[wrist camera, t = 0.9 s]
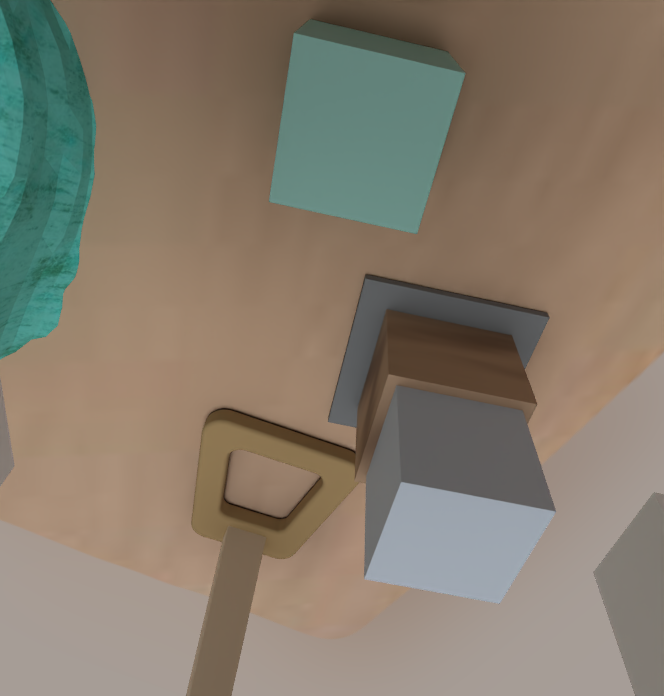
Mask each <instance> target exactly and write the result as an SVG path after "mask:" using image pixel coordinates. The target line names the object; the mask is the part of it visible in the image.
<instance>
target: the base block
mask: <svg viewBox="0 0 664 696" xmlns="http://www.w3.org/2000/svg"><path fill="white" fill-rule="evenodd" d="M396 385H398V386H403V387H408V388H413V389H418V390H423V391H428V392H433V393H438V394H443V395H448V396H453V397H458V398H463V399H468V400H473V401H478V402H483V403H488V404H493V405H498V406H502V407H507V408H512V409H517V410H522V411H523V413H524V416H525V419H526V422H527V424H528V422H529V420H530V418H531V416H532V414H533V412H534V410H535V408H536V406H537V402H536V399H535V397H534V394H533V391H532V389H531V386H530V383H529V380H528V378H527V375H526V372H525V370H524V367H523V364H522V361H521V359H520V356H519V353H518V350H517V348H516V345H515V342H514V340H513V337H512V335H508V334H503V333H498V332H494V331H489V330H484V329H479V328H475V327H470V326H465V325H460V324H455V323H451V322H446V321H441V320H436V319H432V318H427V317H422V316H417V315H412V314H408V313H403V312H398V311H393V310H389V309H386V312H385V316H384V319H383V323H382V326H381V329H380V333H379V336H378V340H377V343H376V347H375V350H374V353H373V357H372V360H371V364H370V367H369V370H368V374H367V377H366V381H365V384H364V387H363V391H362V394H361V398H360V401H359V405H358V408H357V431H356V456H355V480H354V482H360V483H365V484H366V476H367V472H368V469H369V466H370V463H371V460H372V457H373V454H374V451H375V448H376V445H377V442H378V439H379V436H380V433H381V430H382V427H383V424H384V421H385V418H386V415H387V412H388V409H389V406H390V403H391V400H392V397H393V394H394V391H395V388H396Z"/></svg>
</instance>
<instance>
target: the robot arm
mask: <svg viewBox="0 0 664 696" xmlns="http://www.w3.org/2000/svg"><path fill="white" fill-rule="evenodd" d="M13 467H14V460H13V453H12V447H11V441H10V435H9V429H8V423H7V417H6V411H5V404H4V398H3V392H2V386H1V380H0V486H1V484H2V483H3V482H4V480H5V479H6V477H7V476H8V474H9V473H10V472H11V470H12V469H13ZM594 576H595V579H596V582H597V585H598V588H599V591H600V594H601V596H602V599H603V602H604V605H605V608H606V611H607V614H608V617H609V620H610V623H611V626H612V629H613V632H614V635H615V638H616V640H617V644H618V646H619V649H620V652H621V655H622V658H623V661H624V664H625V667H626V670H627V672H628V676H629V679H630V682H631V685H632V688H633V691H634V693H635V696H664V494H659V493H653V494H652V495H651V497H650V498H649V499H648V501H647V502H646V504H645V505H644V506H643V508H642V509H641V510H640V511H639V513H638V514H637V515H636V517H635V518H634V519H633V521H632V522H631V523H630V525H629V526H628V527H627V529H626V530H625V531H624V532H623V534H622V535H621V536H620V538H619V539H618V540H617V542H616V543H615V544H614V546H613V547H612V548H611V550H610V551H609V553H608V554H607V555H606V557H605V558H604V559H603V560H602V562H601V563H600V564H599V566H598V567H597V568H596V570H595V571H594Z"/></svg>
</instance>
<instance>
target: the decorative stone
mask: <svg viewBox="0 0 664 696" xmlns="http://www.w3.org/2000/svg"><path fill="white" fill-rule="evenodd" d="M95 135H96V122H95V115H94V109H93V103H92V100H91V97H90V95H89V91H88V87H87V83H86V79H85V75H84V72H83V69H82V65H81V62H80V59H79V56H78V53H77V50H76V47H75V45H74V42H73V39H72V36H71V33H70V31H69V29H68V27H67V25H66V24H65V22H64V20H63V19H62V17H61V16H60V14H59V13H58V11H57V10H56V8H55V7H54V5H53V4H52V2H51V1H50V0H0V359H2V358H3V357H5V356H8V355H10V354H12V353H14V352H16V351H17V350H18V349H20V348H21V347H22V346H23V345H25V344H26V343H27V342H29V341H30V340H31V339H36V338H42V337H46V336H47V335H48V334H49V333H50V332H51V331H52V330H53V329H54V328H55V327H57V326H58V322H59V317H60V313H61V309H62V301H63V293H64V290H65V289H66V288H67V286H68V285H69V284H70V283H71V282H72V280H73V279H74V278H75V276H76V273H77V269H78V264H79V246H80V238H81V230H82V225H83V220H84V216H85V213H86V210H87V206H88V203H89V199H90V196H91V191H92V185H93V180H94V175H95V172H94V146H95Z"/></svg>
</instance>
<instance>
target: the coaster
mask: <svg viewBox="0 0 664 696" xmlns="http://www.w3.org/2000/svg"><path fill="white" fill-rule="evenodd" d="M386 309H389V310H393V311H398V312H403V313H408V314H412V315H417V316H422V317H427V318H432V319H436V320H441V321H446V322H451V323H455V324H460V325H465V326H470V327H475V328H479V329H484V330H489V331H494V332H498V333H503V334H508V335H512V337H513V340H514V342H515V345H516V348H517V350H518V353H519V356H520V359H521V361H522V364H523V367H524V370H525V368H526V366H527V364H528V362H529V360H530V357H531V355H532V353H533V351H534V349H535V347H536V345H537V343H538V341H539V339H540V336H541V334H542V332H543V330H544V328H545V326H546V324H547V322H548V320H549V316H548V314H547V313H545V312H540V311H536V310H531V309H526V308H521V307H517V306H512V305H507V304H503V303H498V302H493V301H488V300H484V299H479V298H474V297H470V296H465V295H460V294H455V293H451V292H446V291H441V290H437V289H432V288H427V287H422V286H418V285H413V284H408V283H404V282H399V281H394V280H390V279H385V278H380V277H375V276H371V275H365V279H364V283H363V287H362V291H361V295H360V298H359V302H358V306H357V310H356V314H355V318H354V321H353V325H352V329H351V333H350V337H349V341H348V345H347V348H346V352H345V356H344V360H343V364H342V368H341V371H340V375H339V379H338V383H337V387H336V391H335V394H334V398H333V402H332V406H331V410H330V414H329V419H328V422H331V423H336V424H341V425H346V426H351V427H356V428H357V408H358V405H359V401H360V398H361V394H362V391H363V387H364V384H365V381H366V377H367V374H368V370H369V367H370V364H371V360H372V357H373V353H374V350H375V347H376V343H377V340H378V336H379V333H380V329H381V326H382V323H383V319H384V316H385V312H386Z"/></svg>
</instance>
